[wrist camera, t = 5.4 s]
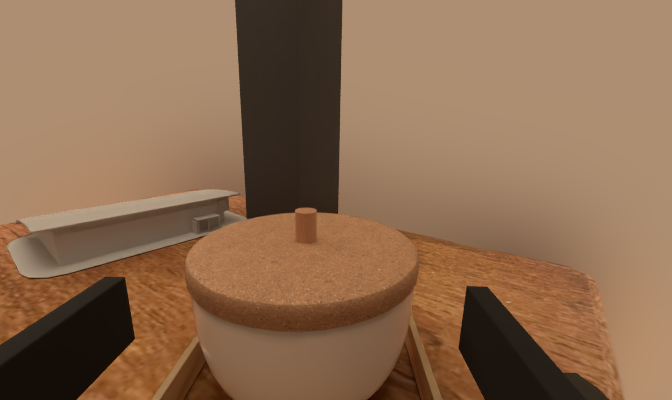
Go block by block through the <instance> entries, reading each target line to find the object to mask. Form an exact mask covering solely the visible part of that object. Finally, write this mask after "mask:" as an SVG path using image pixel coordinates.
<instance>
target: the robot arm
mask: <svg viewBox="0 0 672 400" xmlns="http://www.w3.org/2000/svg"><path fill="white" fill-rule="evenodd" d="M134 339H135V336H134V330H133V324H132V318H131V312H130V306H129V300H128V294H127V287H126V281H125V277H104V278H103V279H101V280H100V281H98V282H97V283H95V284H94V285H92V286H90V287H89V288H87V289H86V290H84V291H83V292H81V293H80V294H78V295H77V296H75V297H74V298H72V299H70V300H69V301H67V302H66V303H64V304H63V305H61V306H60V307H58V308H57V309H55V310H54V311H52V312H50V313H49V314H47V315H46V316H44V317H43V318H41V319H40V320H38V321H37V322H35V323H33V324H32V325H30V326H29V327H27V328H26V329H24V330H23V331H21V332H20V333H18V334H17V335H15V336H13V337H12V338H10V339H9V340H7V341H6V342H4V343H3V344H1V345H0V400H77V399H78V397H79V396H80V395H81V394H82V393H83V392H84V391H85V390H86V389H87V388H88V387H89V386H90V385H91V384H92V383H93V382H94V381H95V380H96V379H97V378H98V377H99V376H100V375H101V374H102V373H103V371H104V370H105V369H106V368H107V367H108V366H109V365H110V364H111V363H112V362H113V361H114V360H115V359H116V358H117V357H118V356H119V355H120V354H121V353H122V352H123V351H124V350H125V349H126V348H127V347H128V345H129V344H130V343H131V342H132V341H133V340H134ZM459 350H460V352H461V354H462V356H463V358H464V360H465V362H466V364H467V366H468V368H469V370H470V371H471V373H472V375H473V377H474V379H475V381H476V383H477V385H478V387H479V389H480V391H481V393H482V395H483V397H484V399H485V400H609V399H608V398H607V397H606V396H605V395H604V394H603V393H602V392H601V391H600V390H599V389H598V388H597V387H595V386H594V385H592V384H591V383H590V382H588V381H587V380H585V379H584V378H582V377H581V376H580V375H578V374H577V373H563V372H562V371H561V370H560V369H559V368H558V367H557V366H556V365H555V363H554V362H553V361H552V360H551V359H550V358H549V357H548V355H547V354H546V353H545V352H544V351H543V350H542V349H541V347H540V346H539V345H538V344H537V343H536V342H535V341H534V340H533V338H532V337H531V336H530V335H529V334H528V333H527V332H526V330H525V329H524V328H523V327H522V326H521V325H520V324H519V322H518V321H517V320H516V319H515V318H514V317H513V316H512V314H511V313H510V312H509V311H508V310H507V309H506V308H505V307H504V305H503V304H502V303H501V302H500V301H499V300H498V299H497V297H496V296H495V295H494V294H493V293H492V292H491V291H490V289H489V288H488V287H475V286H467V289H466V296H465V304H464V312H463V319H462V327H461V334H460V342H459Z"/></svg>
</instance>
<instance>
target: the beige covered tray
mask: <svg viewBox="0 0 672 400" xmlns="http://www.w3.org/2000/svg"><path fill="white" fill-rule="evenodd" d="M237 195H240V193H237V192H233V191H226V190H211V189H209V190H199V191H192V192H185V193H179V194H173V195H166V196H160V197H154V198H148V199H141V200H135V201H129V202H122V203H116V204H110V205H104V206H97V207H91V208H85V209H79V210H72V211H66V212H60V213H53V214H47V215H40V216H34V217H29V218H24V219H19V220H16V222H15V225H16V224H23V225H24V226H25V227H26V228H27V229H28V230H29V231H30V233H31V234H32V235H28V236H24V237H20V238H18V239H16V240H14V241H11V242H10V243H9V244H8V246H7V248H8V250H9V252H10V254H11V256H12V258H13V260H14V263H15V265H16V267H17V269H18V271H19V273H20V274H21V275H23V276H25V277H27V278H49V277H54V276H59V275H64V274H69V273H72V272H76V271H80V270H83V269H87V268H90V267H94V266H98V265H101V264H105V263H109V262H112V261H116V260H119V259H123V258H127V257H130V256H134V255H137V254H141V253H145V252H148V251H152V250H155V249H159V248H163V247H166V246H170V245H174V244H177V243H181V242H184V241H188V240H192V239H195V238H199V237H202V236H206V235H208V234H210V233H211V232H214V231H216V230H218V229H220V228H222V227H225V226H228V225H230V224H233V223H236V222H240V221H244V220H247V218H245V217H244V216H241V215H238V214H235V213H232V212H229V211H227V210H229V201H228V197H231V196H237Z"/></svg>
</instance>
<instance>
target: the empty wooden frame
mask: <svg viewBox="0 0 672 400" xmlns="http://www.w3.org/2000/svg"><path fill="white" fill-rule="evenodd" d="M405 343H406V347H407V350H408V354H409V358H410V361H411V365H412V368H413V372H414V376H415V379H416V383H417V386H418V390H419V394H420V397H421V400H442V397H441V394H440V392H439V389H438V386H437V383H436V380H435V377H434V375H433V372H432V369H431V366H430V363H429V361H428V358H427V355H426V352H425V349H424V347H423V344H422V341H421V338H420V335H419V332H418V330H417V327H416V324H415V321H414V318H413V316H412V313H411V316H410V322H409V326H408V330H407V334H406V338H405ZM205 362H206V359H205V357H204V354H203V352H202V349H201V346H200V343H199V339H198V336H197V334H196V336H195V337H194V339H193V340H192V342H191V343H190V344H189V346H188V347H187V349H186V350H185V352H184V353H183V354H182V356H181V357H180V359H179V360H178V362H177V363H176V364H175V366H174V367H173V369H172V370H171V372H170V373H169V374H168V376H167V377H166V379H165V380H164V382H163V383H162V385H161V386H160V387H159V389H158V390H157V392H156V393H155V395H154V396H153V397H152V399H151V400H183V399H184V398H185V396H186V394H187V393H188V391H189V389H190V387H191V386H192V384H193V382H194V381H195V379H196V377H197V375H198V374H199V372H200V370H201V368H202V367H203V365H204V363H205Z"/></svg>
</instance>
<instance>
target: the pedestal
mask: <svg viewBox="0 0 672 400" xmlns="http://www.w3.org/2000/svg"><path fill="white" fill-rule="evenodd" d="M235 7H236V24H237V43H238V62H239V79H240V99H241V117H242V136H243V154H244V173H245V190H246V210H247V220H248V219H252V218H256V217H261V216H268V215H275V214H283V213H295V210H296V209H298V208H314V209H316V210H317V213H334V214H338V187H339V139H340V89H341V38H342V0H235Z"/></svg>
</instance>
